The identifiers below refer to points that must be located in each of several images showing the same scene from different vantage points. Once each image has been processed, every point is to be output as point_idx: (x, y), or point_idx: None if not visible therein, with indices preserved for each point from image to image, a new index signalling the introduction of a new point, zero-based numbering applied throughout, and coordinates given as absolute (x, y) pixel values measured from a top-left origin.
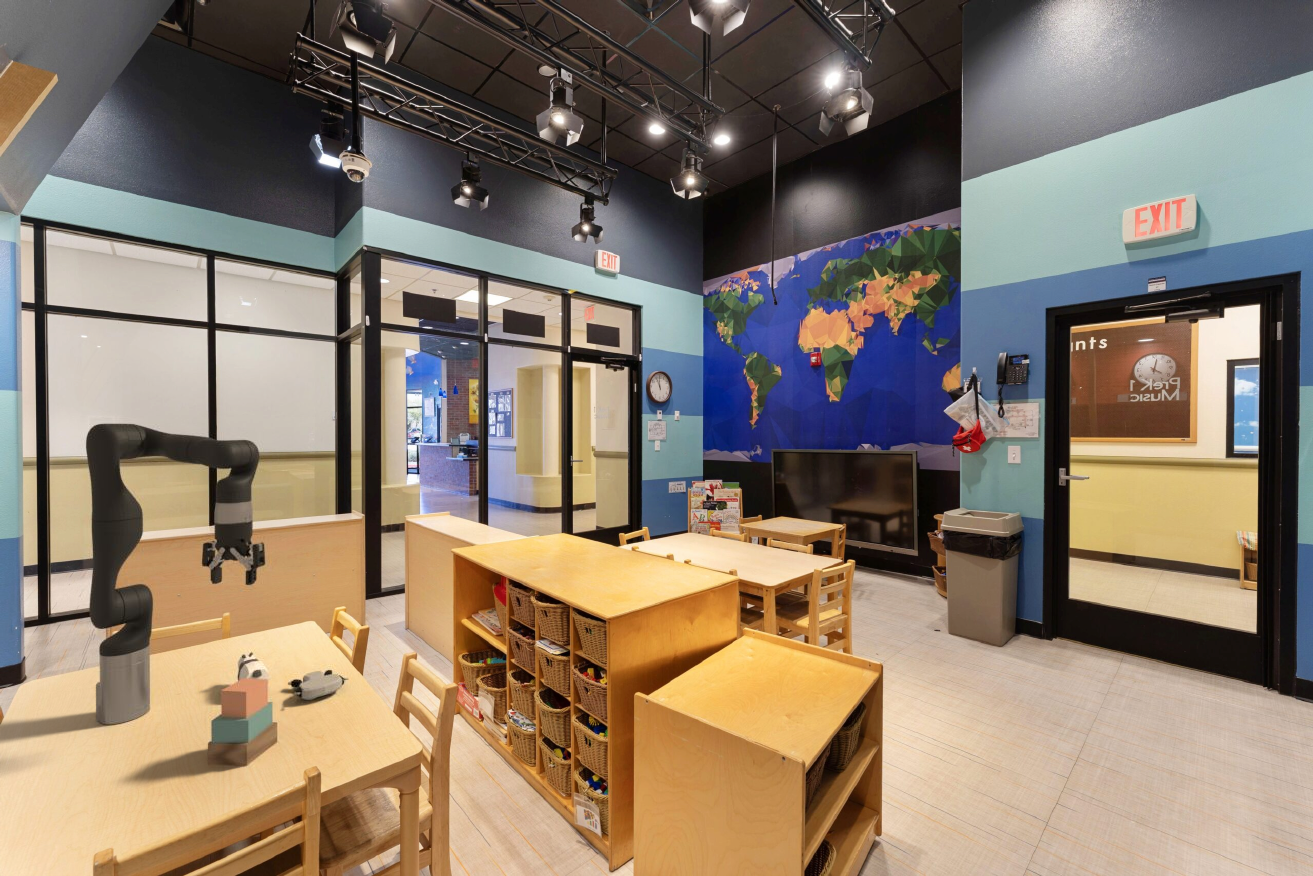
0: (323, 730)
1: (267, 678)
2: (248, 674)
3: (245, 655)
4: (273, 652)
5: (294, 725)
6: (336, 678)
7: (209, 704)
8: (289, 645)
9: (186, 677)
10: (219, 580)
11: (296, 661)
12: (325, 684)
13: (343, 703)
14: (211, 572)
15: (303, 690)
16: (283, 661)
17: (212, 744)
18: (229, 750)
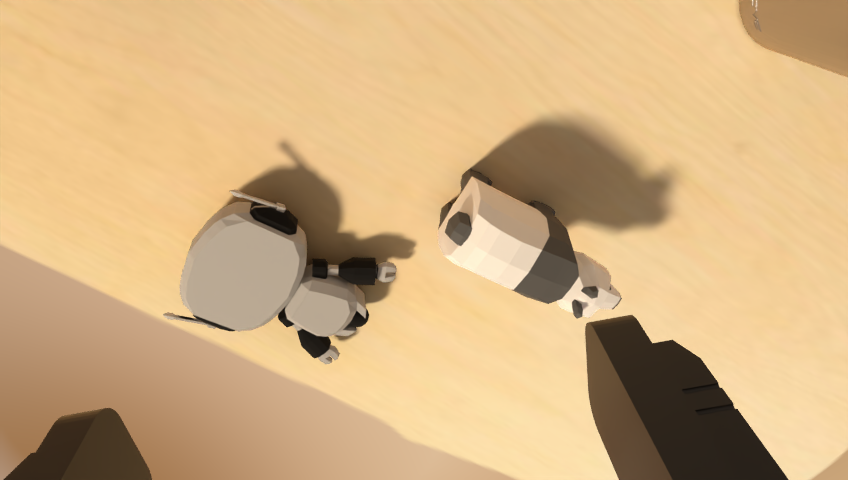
0: (2, 69)
1: (440, 242)
2: (478, 210)
3: (594, 301)
4: None
5: (139, 72)
6: (198, 304)
7: (572, 116)
8: None
9: (806, 236)
10: (598, 402)
11: (534, 394)
12: (192, 261)
13: (121, 229)
14: (748, 455)
15: (242, 215)
16: (575, 385)
17: None
18: None
